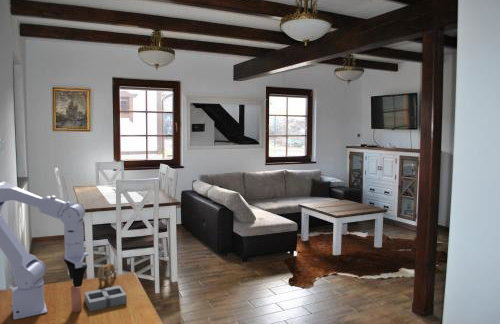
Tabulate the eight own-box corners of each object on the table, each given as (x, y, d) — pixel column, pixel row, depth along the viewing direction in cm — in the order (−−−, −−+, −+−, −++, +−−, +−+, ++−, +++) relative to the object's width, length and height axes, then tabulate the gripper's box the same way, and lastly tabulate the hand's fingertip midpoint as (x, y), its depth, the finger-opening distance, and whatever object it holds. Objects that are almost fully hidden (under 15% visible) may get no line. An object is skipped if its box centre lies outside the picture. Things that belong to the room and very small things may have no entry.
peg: (72, 313, 134) (71, 289, 133) (71, 309, 137) (70, 286, 136) (82, 311, 136) (81, 287, 135) (80, 307, 138) (80, 284, 137)
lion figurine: (110, 291, 151) (110, 267, 150) (95, 291, 151) (94, 268, 149) (117, 275, 166) (117, 253, 165) (103, 276, 165) (103, 254, 164)
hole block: (89, 311, 136) (89, 302, 135) (84, 300, 143) (84, 292, 143) (126, 303, 142) (126, 294, 141) (119, 293, 149) (119, 285, 149)
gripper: (91, 246, 130) (93, 287, 131) (83, 234, 142) (84, 272, 143) (67, 249, 126) (69, 292, 127) (61, 237, 138) (62, 276, 140)
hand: (75, 282), depth 135 cm, fingers open, 7 cm apart
